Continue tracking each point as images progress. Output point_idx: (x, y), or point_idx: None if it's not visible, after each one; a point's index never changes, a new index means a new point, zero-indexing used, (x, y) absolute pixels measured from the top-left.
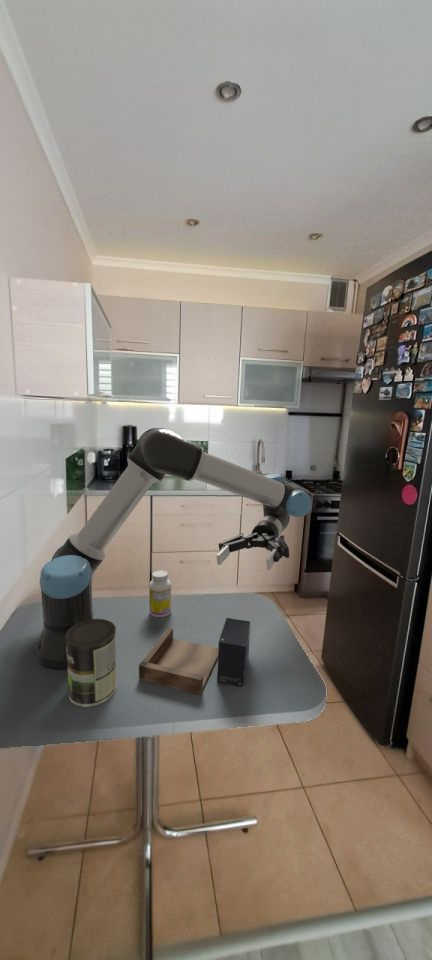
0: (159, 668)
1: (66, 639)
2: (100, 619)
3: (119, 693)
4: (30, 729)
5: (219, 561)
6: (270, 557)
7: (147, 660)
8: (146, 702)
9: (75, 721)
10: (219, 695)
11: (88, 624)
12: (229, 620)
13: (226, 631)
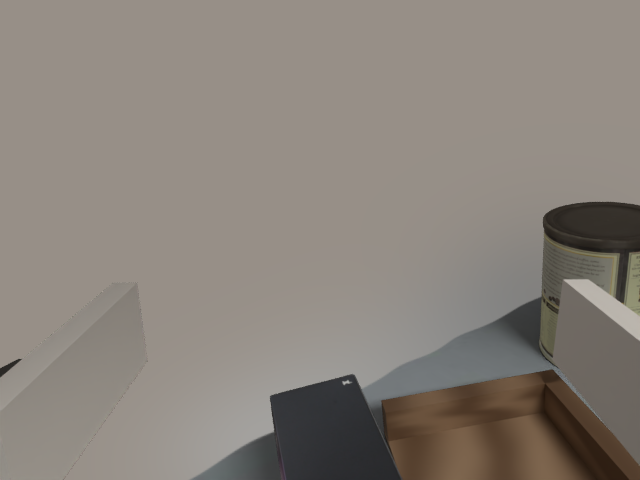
0: (499, 382)
1: (609, 202)
2: None
3: (540, 365)
4: None
5: (559, 332)
6: (93, 301)
7: (554, 387)
8: (471, 374)
9: (532, 312)
10: None
11: None
12: (383, 478)
13: (355, 416)
